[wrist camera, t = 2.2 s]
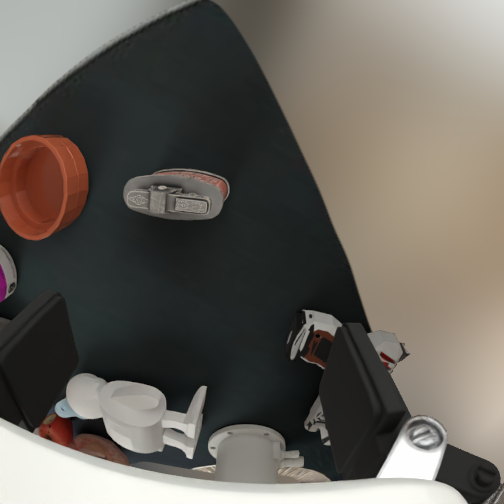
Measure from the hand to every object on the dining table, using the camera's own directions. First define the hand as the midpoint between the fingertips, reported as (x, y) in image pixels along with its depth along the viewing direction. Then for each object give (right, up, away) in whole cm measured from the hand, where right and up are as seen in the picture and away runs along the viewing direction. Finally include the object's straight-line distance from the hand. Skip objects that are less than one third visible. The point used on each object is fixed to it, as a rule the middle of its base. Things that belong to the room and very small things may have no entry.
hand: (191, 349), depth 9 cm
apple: (-33, -28, +33) cm, 55 cm away
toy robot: (-5, -21, +26) cm, 34 cm away
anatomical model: (-29, -28, +24) cm, 46 cm away
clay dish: (-21, +11, +20) cm, 31 cm away
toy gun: (+4, -13, +27) cm, 30 cm away
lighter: (-4, +10, +20) cm, 23 cm away
